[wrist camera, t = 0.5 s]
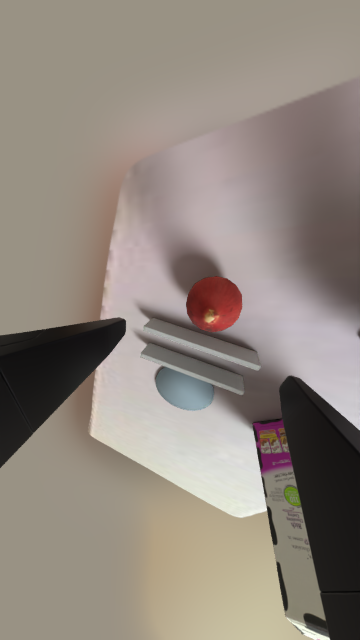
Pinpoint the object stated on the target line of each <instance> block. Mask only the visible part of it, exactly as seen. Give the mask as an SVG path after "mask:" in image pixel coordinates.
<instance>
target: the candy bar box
mask: <svg viewBox="0 0 360 640" xmlns="http://www.w3.org/2000/svg"><path fill="white" fill-rule="evenodd" d="M253 430H254V436H255V441H256V448H257V454H258V460H259V465H260V471H261V477H262V482H263V488H264V494H265V501H266V506H267V512H268V518H269V524H270V530H271V536H272V541H273V547H274V552H275V558H276V564H277V571H278V577H279V583H280V589H281V595H282V600H283V605H284V610H285V616H286V618H287V619H288V620H289V621H290V622H291V623H292V624H293V625H294V626H295V627H296V628H297V629H298V630H299V631H301V633H302V634H303V635H306V636H308V637H310V638H313V639H315V640H330V638H329V633H328V629H327V624H326V620H325V615H324V610H323V606H322V601H321V597H320V590H319V586H318V582H317V577H316V573H315V568H314V563H313V559H312V554H311V550H310V545H309V540H308V536H307V531H306V527H305V522H304V517H303V513H302V508H301V504H300V499H299V494H298V490H297V485H296V481H295V476H294V471H293V467H292V462H291V458H290V453H289V448H288V444H287V439H286V435H285V430H284V425H283V419H280V420H273V421H265V422H258V423H253Z"/></svg>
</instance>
